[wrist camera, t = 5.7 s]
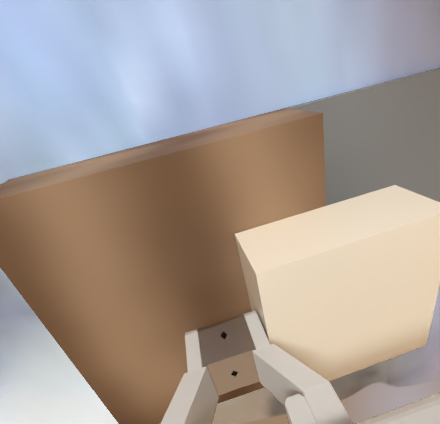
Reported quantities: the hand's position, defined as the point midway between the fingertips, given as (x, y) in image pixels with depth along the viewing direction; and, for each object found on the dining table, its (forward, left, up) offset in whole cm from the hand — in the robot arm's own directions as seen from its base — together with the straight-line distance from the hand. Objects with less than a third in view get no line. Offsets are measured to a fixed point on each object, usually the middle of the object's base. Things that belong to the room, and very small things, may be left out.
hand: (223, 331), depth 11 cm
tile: (+5, 0, -1) cm, 5 cm away
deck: (-1, 0, -4) cm, 4 cm away
